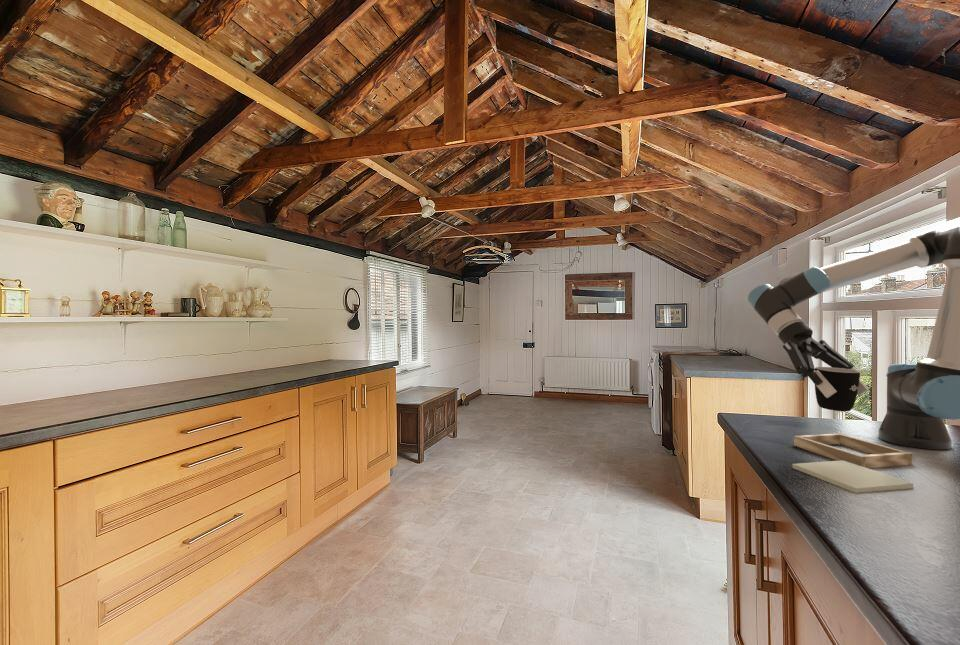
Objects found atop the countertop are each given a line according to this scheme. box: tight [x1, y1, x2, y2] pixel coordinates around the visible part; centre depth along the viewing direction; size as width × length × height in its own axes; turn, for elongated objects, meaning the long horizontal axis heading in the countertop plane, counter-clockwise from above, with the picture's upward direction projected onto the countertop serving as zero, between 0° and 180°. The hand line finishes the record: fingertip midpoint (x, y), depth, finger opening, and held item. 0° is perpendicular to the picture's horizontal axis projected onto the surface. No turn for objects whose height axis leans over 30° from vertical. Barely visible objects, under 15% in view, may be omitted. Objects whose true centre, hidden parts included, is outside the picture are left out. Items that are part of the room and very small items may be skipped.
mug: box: [814, 366, 861, 412], centre depth 112 cm, size 12×9×10 cm
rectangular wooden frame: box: [793, 432, 913, 469], centre depth 115 cm, size 15×18×3 cm
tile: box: [791, 460, 915, 494], centre depth 99 cm, size 15×15×1 cm
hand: (848, 393), depth 109 cm, fingers closed on mug, 11 cm apart
